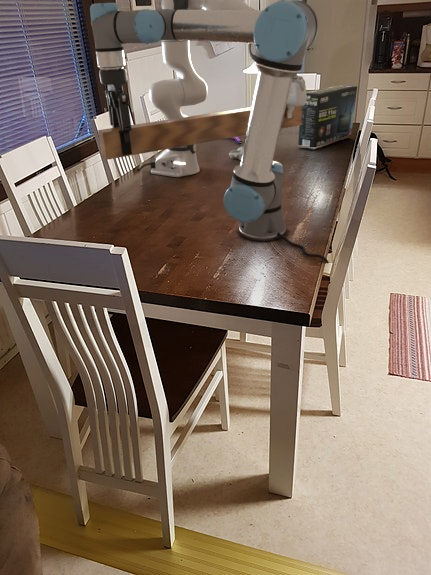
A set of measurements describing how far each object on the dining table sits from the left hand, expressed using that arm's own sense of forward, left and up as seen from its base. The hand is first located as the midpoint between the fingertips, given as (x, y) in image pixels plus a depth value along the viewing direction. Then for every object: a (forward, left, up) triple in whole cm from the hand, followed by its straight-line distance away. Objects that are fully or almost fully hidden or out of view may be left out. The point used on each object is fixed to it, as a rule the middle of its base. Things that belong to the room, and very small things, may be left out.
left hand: (283, 116), depth 163 cm
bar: (-20, -22, -4) cm, 30 cm away
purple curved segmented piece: (-44, +83, -30) cm, 98 cm away
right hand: (-40, -45, -3) cm, 60 cm away
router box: (+8, +85, -30) cm, 90 cm away
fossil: (-26, +49, -30) cm, 63 cm away
